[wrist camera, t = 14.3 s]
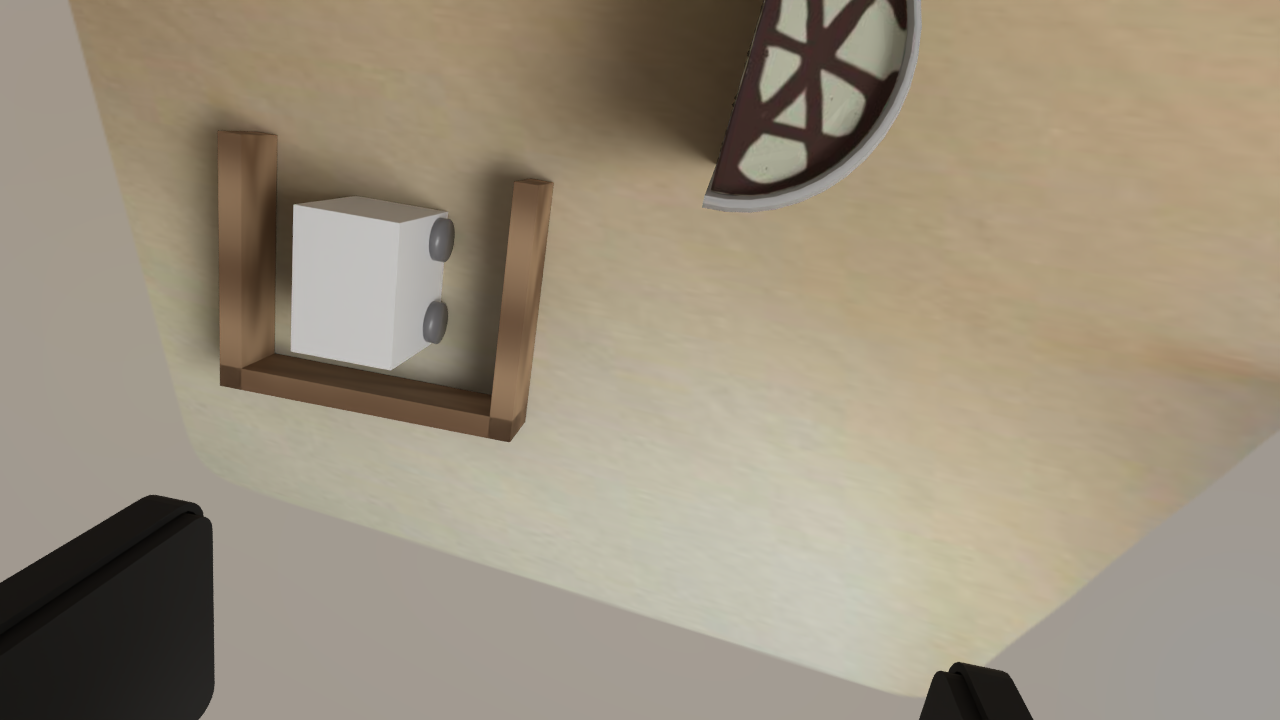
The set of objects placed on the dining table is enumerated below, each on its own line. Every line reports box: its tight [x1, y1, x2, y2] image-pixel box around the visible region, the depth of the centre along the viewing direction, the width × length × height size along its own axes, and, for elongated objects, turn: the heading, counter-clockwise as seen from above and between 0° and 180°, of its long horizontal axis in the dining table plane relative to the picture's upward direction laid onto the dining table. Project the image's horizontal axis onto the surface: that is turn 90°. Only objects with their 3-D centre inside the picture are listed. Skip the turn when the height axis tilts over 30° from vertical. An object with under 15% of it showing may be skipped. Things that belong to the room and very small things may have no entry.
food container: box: [702, 0, 922, 213], centre depth 30 cm, size 12×6×10 cm, turn 165°
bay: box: [218, 131, 554, 442], centre depth 39 cm, size 13×16×3 cm
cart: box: [291, 196, 455, 370], centre depth 37 cm, size 7×6×6 cm
